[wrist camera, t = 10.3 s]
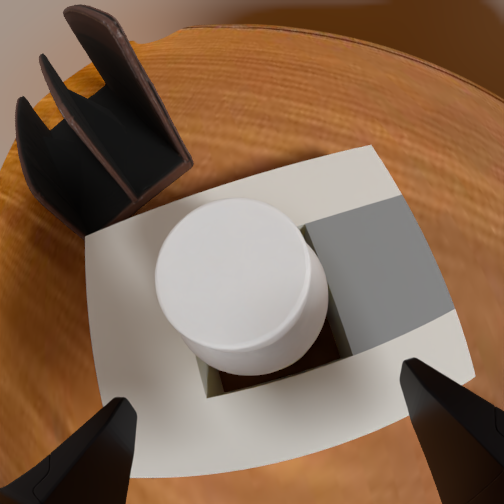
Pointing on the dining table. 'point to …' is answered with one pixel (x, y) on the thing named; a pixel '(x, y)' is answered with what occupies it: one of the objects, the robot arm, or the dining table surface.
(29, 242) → the dining table surface
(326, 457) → the dining table surface
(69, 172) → the letter holder
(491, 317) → the dining table surface
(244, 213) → the supplement bottle
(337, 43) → the dining table surface
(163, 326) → the socket block
